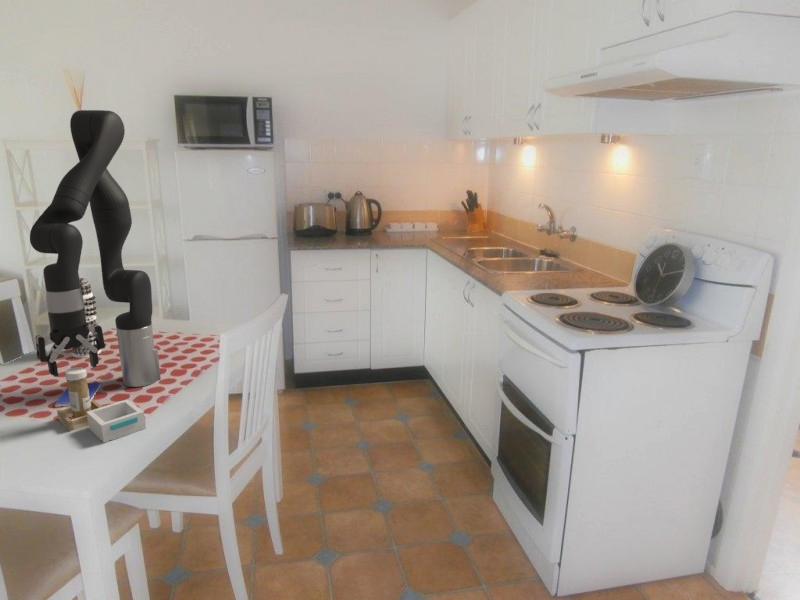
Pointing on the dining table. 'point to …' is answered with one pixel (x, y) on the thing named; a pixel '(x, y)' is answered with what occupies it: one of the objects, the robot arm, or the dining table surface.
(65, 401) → the hard drive
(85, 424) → the wooden square frame
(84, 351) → the decorative candle
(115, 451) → the dining table surface
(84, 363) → the dining table surface
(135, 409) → the block
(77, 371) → the sprinkles bottle
